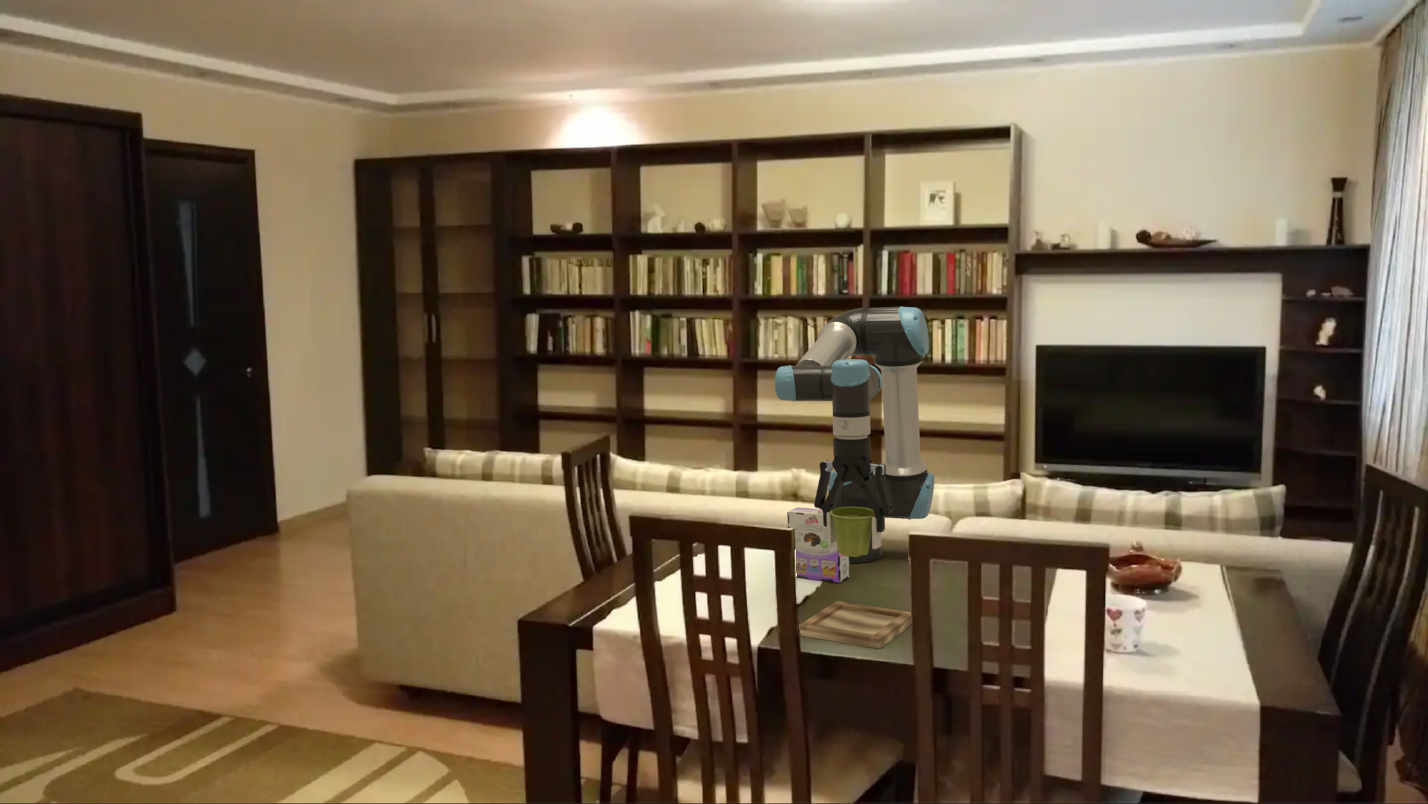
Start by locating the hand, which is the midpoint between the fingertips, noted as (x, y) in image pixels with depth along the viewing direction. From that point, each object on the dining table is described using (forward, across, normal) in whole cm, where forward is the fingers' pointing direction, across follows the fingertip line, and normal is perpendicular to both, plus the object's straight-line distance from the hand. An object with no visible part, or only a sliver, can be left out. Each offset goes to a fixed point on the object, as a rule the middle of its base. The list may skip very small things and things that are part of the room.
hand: (854, 544), depth 216 cm
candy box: (+18, -24, +30) cm, 42 cm away
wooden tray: (+18, 0, 0) cm, 18 cm away
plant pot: (+2, 0, 0) cm, 2 cm away
